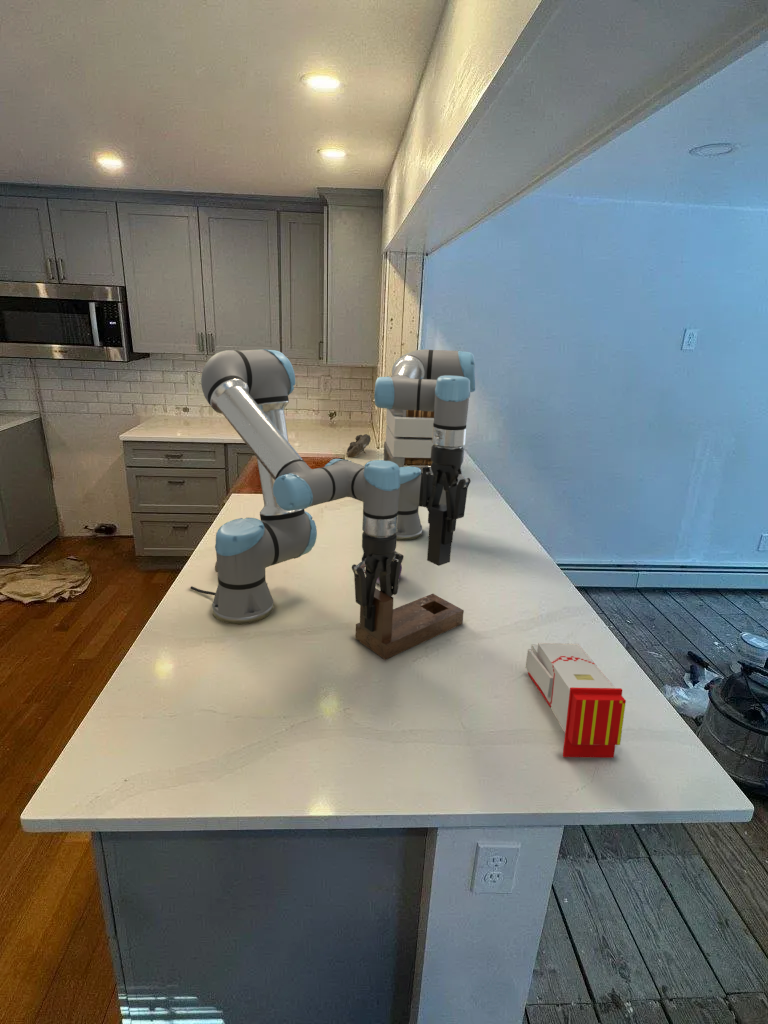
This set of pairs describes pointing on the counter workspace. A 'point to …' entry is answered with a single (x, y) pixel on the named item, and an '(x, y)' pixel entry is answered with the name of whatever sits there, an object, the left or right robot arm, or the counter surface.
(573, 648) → the toy
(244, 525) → the left robot arm
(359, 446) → the fossil
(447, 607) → the peg board
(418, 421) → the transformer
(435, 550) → the peg
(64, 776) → the counter surface
